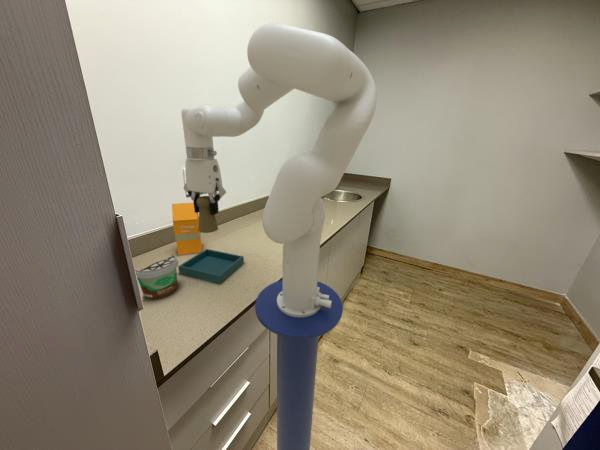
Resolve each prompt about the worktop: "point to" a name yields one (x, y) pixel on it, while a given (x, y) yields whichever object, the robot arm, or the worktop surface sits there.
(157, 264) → the food container
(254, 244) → the worktop surface
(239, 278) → the worktop surface
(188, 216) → the orange juice
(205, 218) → the olive tapered rounded piece
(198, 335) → the worktop surface
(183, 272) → the tray
